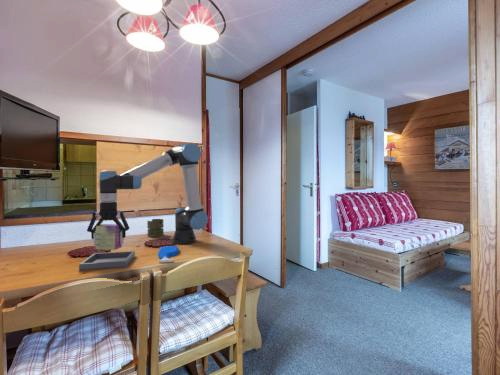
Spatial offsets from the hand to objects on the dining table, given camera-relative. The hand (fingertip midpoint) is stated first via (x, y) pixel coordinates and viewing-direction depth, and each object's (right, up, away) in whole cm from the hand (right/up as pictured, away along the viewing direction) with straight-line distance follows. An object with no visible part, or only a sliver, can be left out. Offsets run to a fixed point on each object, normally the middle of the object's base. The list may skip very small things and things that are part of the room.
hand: (108, 244), depth 127 cm
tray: (0, -9, 0) cm, 9 cm away
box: (0, -2, 0) cm, 2 cm away
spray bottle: (+26, -9, +12) cm, 30 cm away
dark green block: (0, -8, +63) cm, 63 cm away
